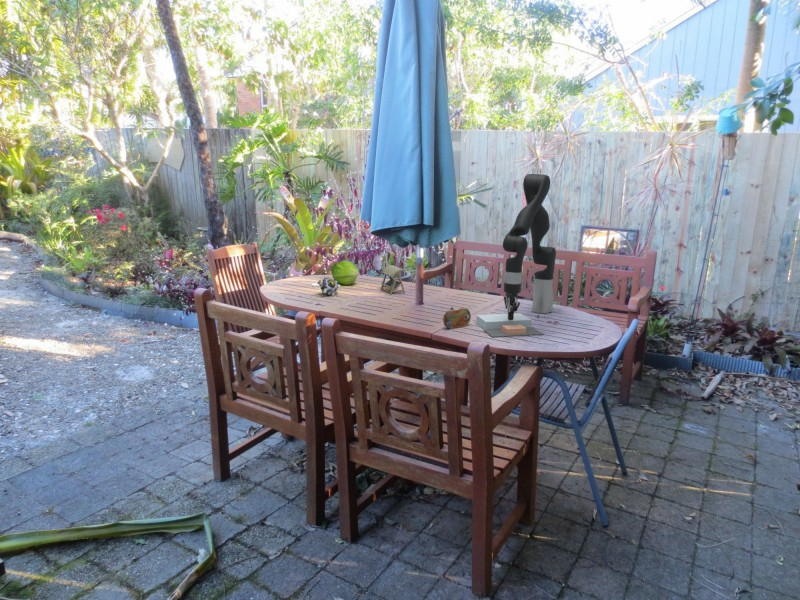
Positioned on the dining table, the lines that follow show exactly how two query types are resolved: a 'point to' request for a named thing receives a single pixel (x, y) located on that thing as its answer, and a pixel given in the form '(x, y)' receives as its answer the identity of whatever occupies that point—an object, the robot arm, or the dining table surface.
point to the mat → (500, 333)
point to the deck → (501, 321)
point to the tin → (456, 318)
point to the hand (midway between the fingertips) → (510, 319)
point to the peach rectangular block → (513, 329)
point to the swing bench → (392, 283)
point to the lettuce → (344, 272)
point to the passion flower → (329, 285)
